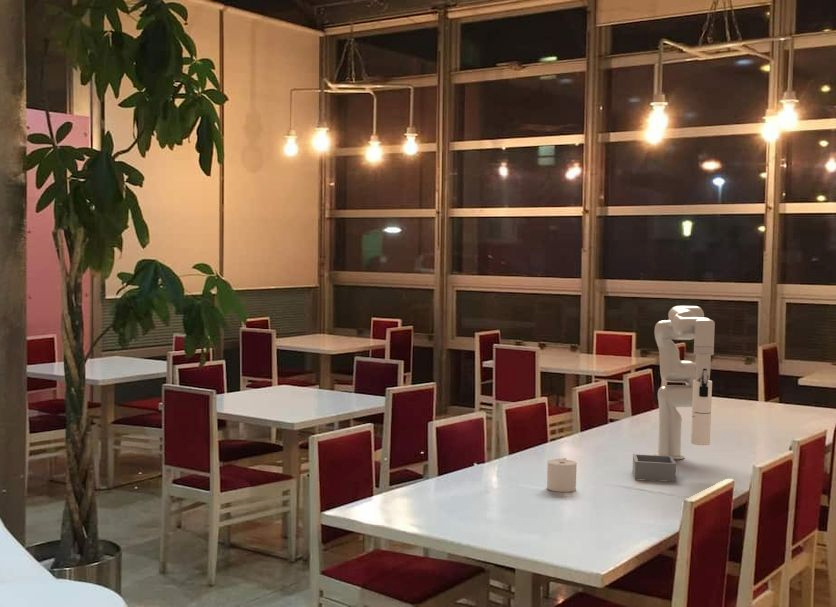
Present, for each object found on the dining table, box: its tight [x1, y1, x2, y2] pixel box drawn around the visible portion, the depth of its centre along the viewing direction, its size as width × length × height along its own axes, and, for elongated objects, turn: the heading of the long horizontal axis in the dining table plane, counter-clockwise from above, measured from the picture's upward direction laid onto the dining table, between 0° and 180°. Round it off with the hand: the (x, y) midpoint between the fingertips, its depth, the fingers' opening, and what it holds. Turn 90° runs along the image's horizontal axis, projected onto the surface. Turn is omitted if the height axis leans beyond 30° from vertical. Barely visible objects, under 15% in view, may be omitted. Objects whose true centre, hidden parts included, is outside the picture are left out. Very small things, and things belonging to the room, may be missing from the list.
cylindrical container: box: [690, 379, 713, 446], centre depth 375 cm, size 7×7×25 cm
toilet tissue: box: [546, 457, 578, 493], centre depth 353 cm, size 11×12×10 cm
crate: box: [632, 453, 677, 482], centre depth 377 cm, size 15×15×7 cm
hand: (702, 395), depth 375 cm, fingers closed on cylindrical container, 7 cm apart
